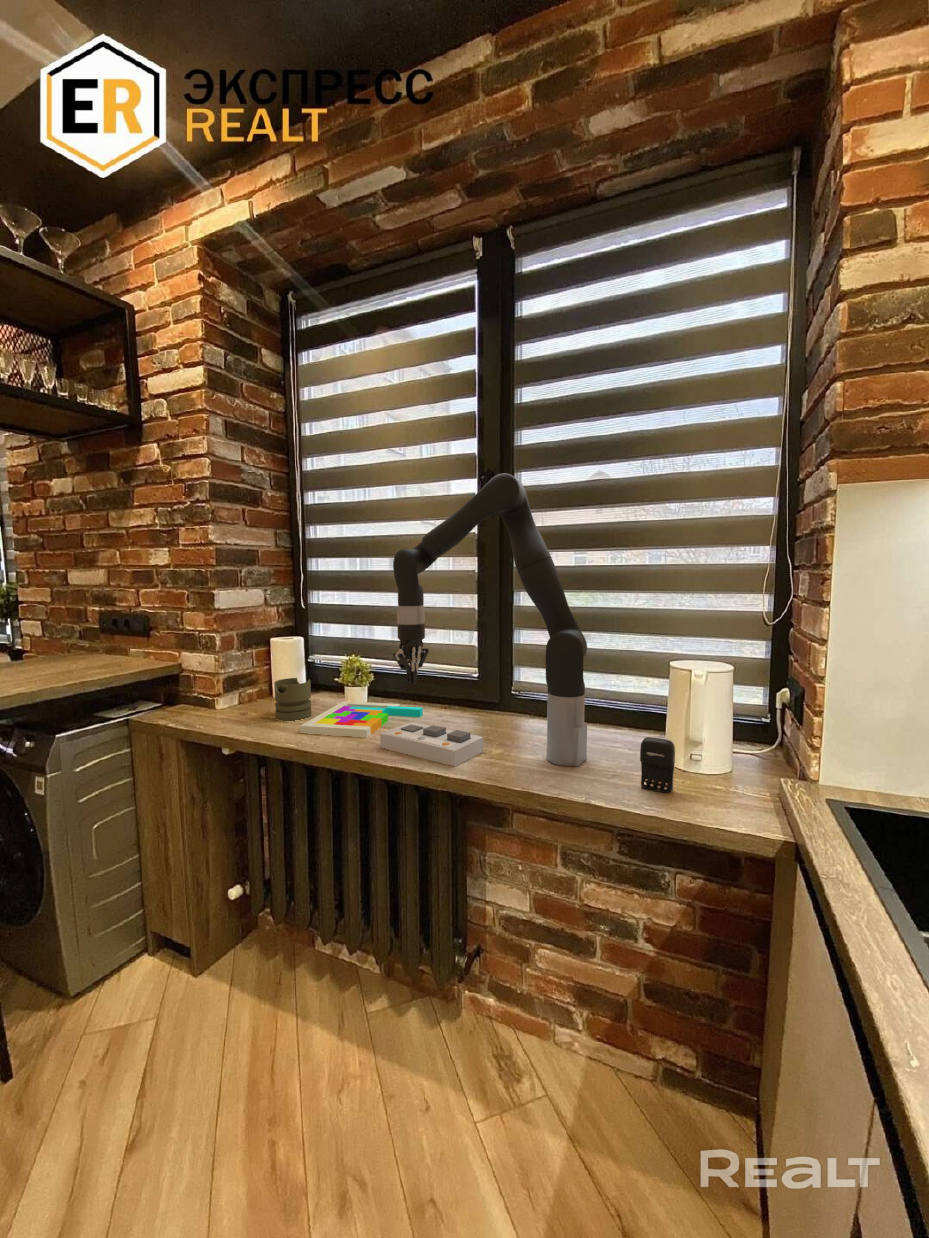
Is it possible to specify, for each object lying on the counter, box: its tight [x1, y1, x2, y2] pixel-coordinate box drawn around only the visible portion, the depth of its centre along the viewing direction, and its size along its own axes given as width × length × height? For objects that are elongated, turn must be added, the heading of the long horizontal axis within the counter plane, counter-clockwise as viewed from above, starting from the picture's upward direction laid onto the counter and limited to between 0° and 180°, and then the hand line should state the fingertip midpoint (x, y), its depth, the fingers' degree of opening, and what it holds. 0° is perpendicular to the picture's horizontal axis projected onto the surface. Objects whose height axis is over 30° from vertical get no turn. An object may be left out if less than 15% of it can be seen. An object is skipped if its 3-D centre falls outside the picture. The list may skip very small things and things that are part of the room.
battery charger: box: [639, 735, 676, 794], centre depth 114 cm, size 7×4×11 cm, turn 58°
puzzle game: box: [299, 700, 424, 739], centre depth 167 cm, size 30×3×30 cm
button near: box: [447, 729, 471, 743], centre depth 137 cm, size 4×4×3 cm
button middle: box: [423, 724, 447, 738], centre depth 142 cm, size 4×4×3 cm
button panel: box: [379, 721, 484, 767], centre depth 141 cm, size 25×13×4 cm, turn 56°
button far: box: [401, 725, 423, 732], centre depth 146 cm, size 4×4×3 cm
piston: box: [273, 677, 312, 722], centre depth 173 cm, size 11×12×11 cm
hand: (412, 684), depth 145 cm, fingers closed
